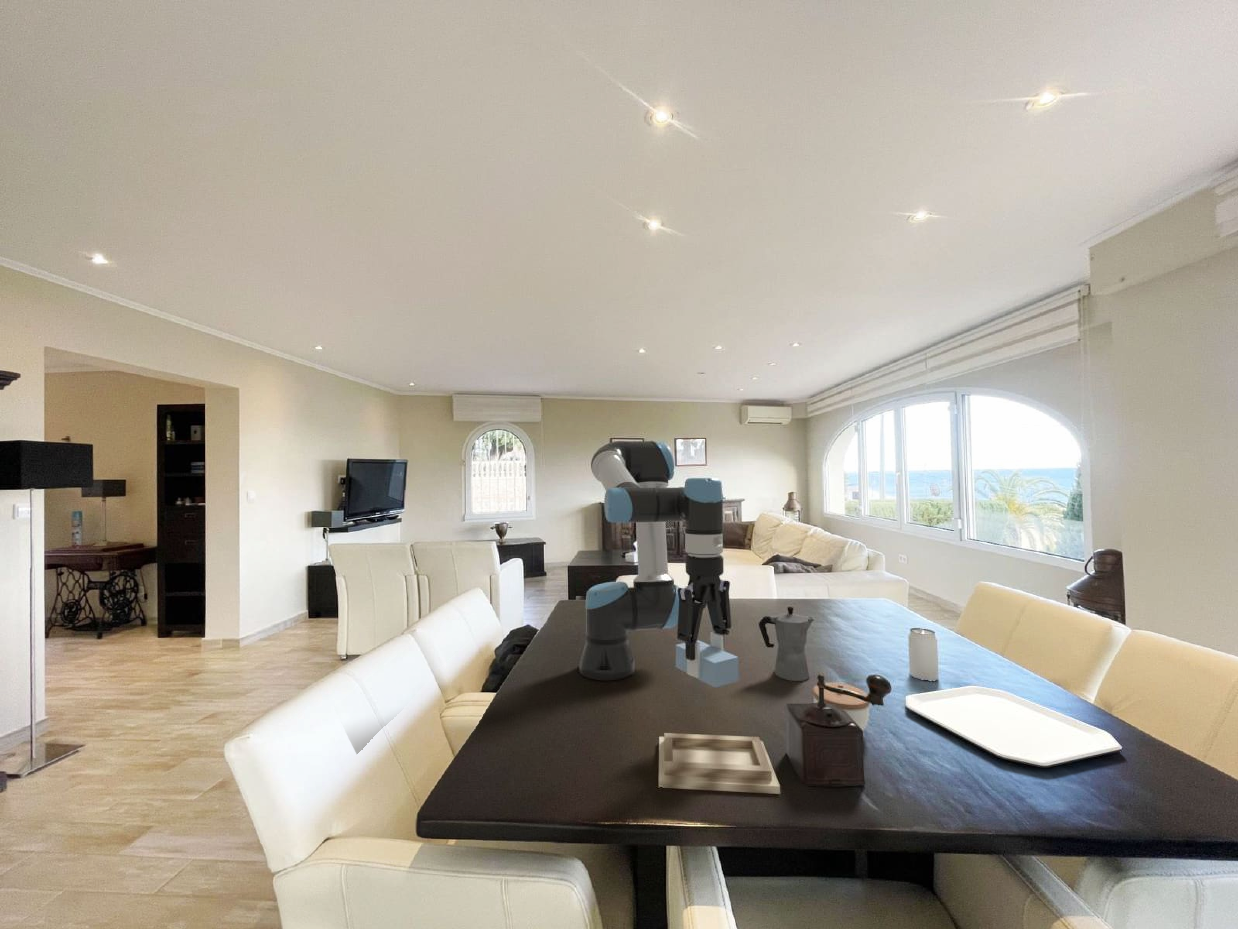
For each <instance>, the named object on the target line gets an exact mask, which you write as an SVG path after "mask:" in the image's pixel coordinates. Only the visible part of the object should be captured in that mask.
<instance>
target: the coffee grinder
mask: <svg viewBox="0 0 1238 929" xmlns="http://www.w3.org/2000/svg"><path fill="white" fill-rule="evenodd" d="M816 677H817V678H816V679H817V680H818V681H817V682H816V685H817V686H818V687H819V701H818V702H817V703H814V702H811V703H785V754H786V755H787V759H788V760H789V762H790V763H791V765H792V767H793V768H794V771H795V773H796V775H797V776H798V777H799V780H800V781H801V783H802V784H804V786H806V787H822V788H823V787H824V788H825V787H826V788H843V787H844V788H845V787H861V786H865V785H866V781H865V768H864V763H865V762H864V759H865V758H864V732H863V731H864V730H863V731H862V729H861V728H860V727H859V726H858V725H857V724H856V722H855V721H854V720H853V719H852V718H851V717H850V716H849V715H848V714H847V713H846V712H845V711H844V710H843V709H842V708H841V707H840V706H839V705H838V704H826V703H825V702H824V689H826V690H828V691H831V692H835V693H840V694H845V695H849V696H852V697H856V698H858V699H861V700H863V701H865V702H870V704H871V705H872V706H873V707H874V706H881V707H883V706H885V705H884V698H885V697H887V695H889V694H890V693H891V692H892V686H891V685H892V684H891V682H890V681H889V680H887V679H886V678H885V677H884V676H882V675H879V674H877V673H876V674H869V675H868V676H867V678H866V679H865V683H866V685H867V687H868V693H867V694H868V695H867V696H866V697H865V696H863V695H861V694H858V693H856V692H853V691H849V690H845V689H840V688H835V687H830V686H827V685H825V683H826V682H825V676H824V675H823V674H821V673H820V674H818V675H817V676H816Z"/></svg>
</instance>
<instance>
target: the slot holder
mask: <svg viewBox="0 0 1238 929" xmlns="http://www.w3.org/2000/svg"><path fill="white" fill-rule="evenodd" d="M663 734H664V736H658V738H659V739H658V741H659V742H658V788H660V787H662V788H661V789H663V788H664V789H678V790H681V789H682V790H697V791H698V790H700V791H701V790H702V791H715V792H716V791H717V792H721V791H722V792H740V793H757V794H776V795H781V785H780V783H779V780H778V777H777V775H776V772H775V770H774V768H773V765H772V762H771V759H770V757H769V754H768V752H767V750H766V749H767V748H766V746H765V744H764V741H763V740H761V738H760V737H759V736H744V735H742V736H741V735H723V734H722V735H720V734H718V735H717V734H698V733H697V734H693V733H692V734H691V733H673V732H664V733H663Z"/></svg>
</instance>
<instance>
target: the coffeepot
mask: <svg viewBox="0 0 1238 929" xmlns="http://www.w3.org/2000/svg"><path fill="white" fill-rule="evenodd" d="M786 609H787V612H788V613H787V612H785V613H778V614H773V615H771V616H766V615H765V616H763V617H762V618H761V619H760V621H759V622H758V628H759V630H760V633H761V636H762V639H763V642H764V644H765V647H766V648H769V649H771V648H774V647H775V644H774V643H770V636H769V634H768V629H767V627H766V625H768V624H769V625H774V628H775V634H776V641H777V642H776V643H777V646H778V647H777V652H776V653H777V654H776V658H775V665H774V675H775V676H777V677H778V678H780V679H783V680H786V681H790V682H803V681H807V680H808V679H809V678H810V674H809V668H808V662H807V657H806V652H805V646H806V644H807V636H808V630H809V628H810V626H811V625H812V623H813V622H814V621H815V619H814V618H813V617H810V616H807V615H800V614H796V613H793V612H794V607H792V606H788V607H786Z"/></svg>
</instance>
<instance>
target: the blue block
mask: <svg viewBox="0 0 1238 929" xmlns="http://www.w3.org/2000/svg"><path fill="white" fill-rule="evenodd" d="M697 642H698V643H700V678H696V677H694V678H696V679H697V680H699V681H701V682H703V683H705V684H707V685H709V686H711V687H712V688H714V689H716V688H718V687H722V686H726V685H729V684H733V683H737V682H739V681H740V678H739V677H740V676H739V675H740V674H739V673H740V672H739V669H740V667H739V666H740V665H739V656H736V655H734V654H732V653H730V652H727V651H725V650H724V651H723V650H720V649H718V648H716V647H713V646H711V644H708V643H706V642H704V641H701V640H699V639H697ZM675 668H676V669H679V670H681V671H683V672H684V673H686V674H687V659H686V651H685V642H682V643H678V644H675Z"/></svg>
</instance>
